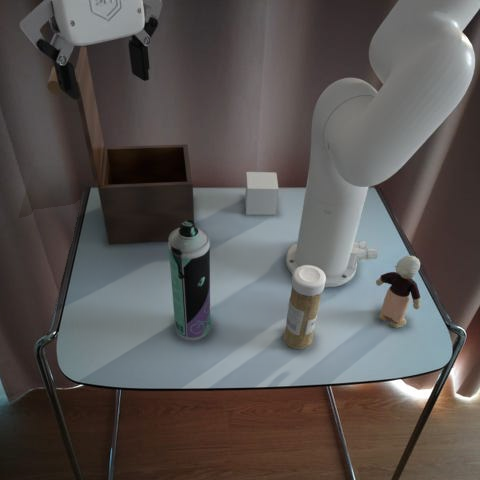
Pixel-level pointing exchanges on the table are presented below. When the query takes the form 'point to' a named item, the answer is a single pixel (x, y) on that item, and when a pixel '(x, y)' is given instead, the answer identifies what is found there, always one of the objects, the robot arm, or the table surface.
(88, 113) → the lid
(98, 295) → the table surface
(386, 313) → the grandmother figurine
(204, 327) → the spray can
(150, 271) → the table surface
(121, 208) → the chest
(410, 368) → the table surface
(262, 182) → the white cube
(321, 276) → the sprinkles bottle
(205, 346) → the table surface
